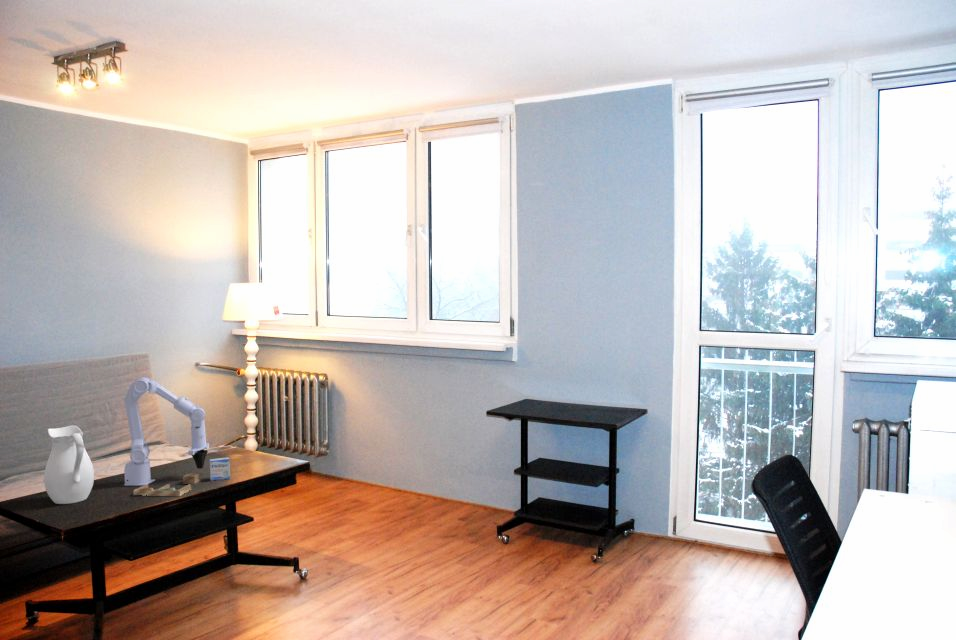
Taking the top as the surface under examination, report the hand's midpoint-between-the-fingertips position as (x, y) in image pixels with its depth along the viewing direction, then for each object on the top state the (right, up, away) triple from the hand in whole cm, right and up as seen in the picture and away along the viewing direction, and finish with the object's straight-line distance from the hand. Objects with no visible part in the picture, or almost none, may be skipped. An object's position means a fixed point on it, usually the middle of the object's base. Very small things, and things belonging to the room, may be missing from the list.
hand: (200, 468), depth 319 cm
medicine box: (+9, -4, -2) cm, 11 cm away
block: (-1, -5, -7) cm, 9 cm away
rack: (-7, -6, -22) cm, 23 cm away
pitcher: (-37, -7, -32) cm, 49 cm away
